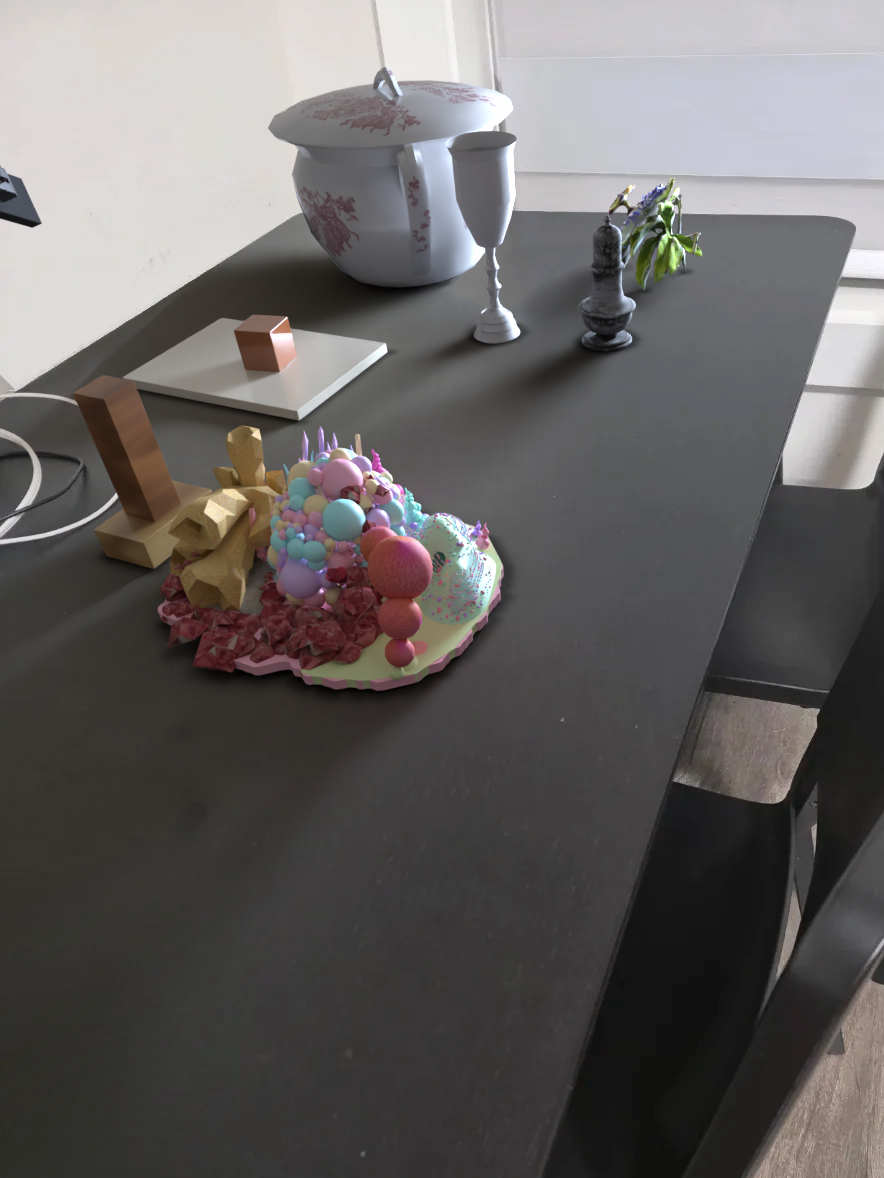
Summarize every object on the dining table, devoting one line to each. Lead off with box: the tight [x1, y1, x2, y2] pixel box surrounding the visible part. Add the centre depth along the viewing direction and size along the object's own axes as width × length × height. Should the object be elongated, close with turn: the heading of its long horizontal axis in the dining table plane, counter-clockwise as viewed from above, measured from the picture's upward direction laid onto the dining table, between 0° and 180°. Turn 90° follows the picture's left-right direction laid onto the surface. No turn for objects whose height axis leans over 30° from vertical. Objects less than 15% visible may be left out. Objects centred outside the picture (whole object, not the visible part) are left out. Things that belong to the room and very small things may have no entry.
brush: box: [72, 374, 213, 570], centre depth 68 cm, size 5×8×12 cm, turn 155°
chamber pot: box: [267, 66, 514, 289], centre depth 105 cm, size 28×28×21 cm
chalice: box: [445, 130, 521, 344], centre depth 91 cm, size 7×7×18 cm
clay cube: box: [234, 314, 297, 372], centre depth 91 cm, size 4×4×4 cm
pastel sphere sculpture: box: [157, 424, 505, 692], centre depth 64 cm, size 25×24×9 cm
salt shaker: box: [577, 214, 637, 352], centre depth 90 cm, size 6×6×12 cm
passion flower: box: [607, 177, 703, 291], centre depth 105 cm, size 11×11×12 cm
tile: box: [121, 317, 388, 421], centre depth 93 cm, size 22×16×1 cm
